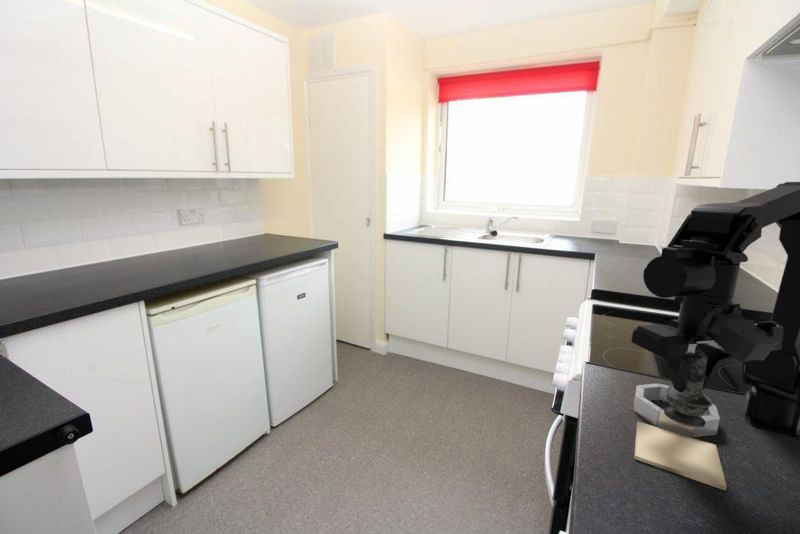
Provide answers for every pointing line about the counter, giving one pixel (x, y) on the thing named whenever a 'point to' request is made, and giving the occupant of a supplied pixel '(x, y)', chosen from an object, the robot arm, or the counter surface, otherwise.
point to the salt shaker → (690, 396)
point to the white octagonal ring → (661, 420)
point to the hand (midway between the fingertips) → (688, 389)
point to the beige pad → (679, 454)
